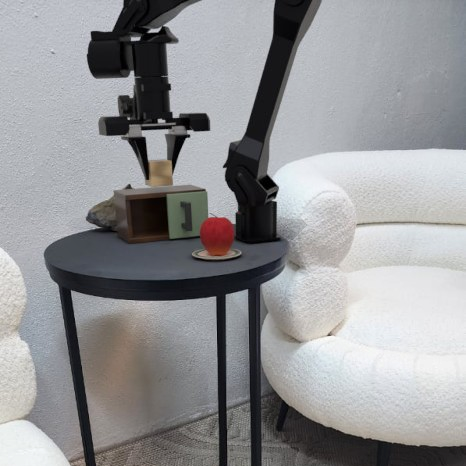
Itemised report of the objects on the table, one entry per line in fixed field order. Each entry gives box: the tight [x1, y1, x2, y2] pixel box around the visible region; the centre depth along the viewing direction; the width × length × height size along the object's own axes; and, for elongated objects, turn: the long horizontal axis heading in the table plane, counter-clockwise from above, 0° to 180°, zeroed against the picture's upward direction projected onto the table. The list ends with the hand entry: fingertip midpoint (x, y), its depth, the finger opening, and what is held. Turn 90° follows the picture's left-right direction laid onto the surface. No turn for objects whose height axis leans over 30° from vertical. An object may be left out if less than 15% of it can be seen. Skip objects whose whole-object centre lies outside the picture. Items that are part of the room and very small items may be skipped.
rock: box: [85, 183, 135, 232], centre depth 133 cm, size 11×6×10 cm
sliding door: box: [166, 190, 209, 240], centre depth 122 cm, size 8×4×7 cm, turn 113°
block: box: [144, 158, 174, 188], centre depth 123 cm, size 4×4×4 cm
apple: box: [191, 212, 242, 261], centre depth 110 cm, size 8×8×6 cm
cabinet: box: [112, 184, 207, 245], centre depth 126 cm, size 15×8×8 cm, turn 113°
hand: (158, 179), depth 123 cm, fingers closed on block, 4 cm apart
